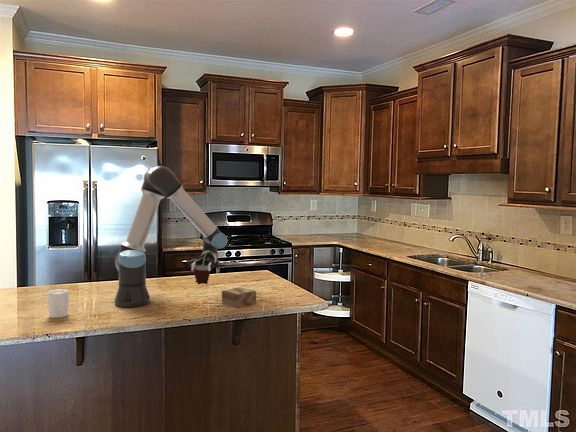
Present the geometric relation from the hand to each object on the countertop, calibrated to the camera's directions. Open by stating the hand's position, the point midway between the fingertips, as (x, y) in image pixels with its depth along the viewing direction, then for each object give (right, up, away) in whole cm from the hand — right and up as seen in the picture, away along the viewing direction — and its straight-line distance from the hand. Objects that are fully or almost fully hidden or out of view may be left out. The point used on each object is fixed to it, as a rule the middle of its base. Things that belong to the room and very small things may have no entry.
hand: (200, 267), depth 205 cm
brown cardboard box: (+16, -17, +7) cm, 25 cm away
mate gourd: (0, -8, +6) cm, 10 cm away
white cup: (-55, -18, -16) cm, 60 cm away
